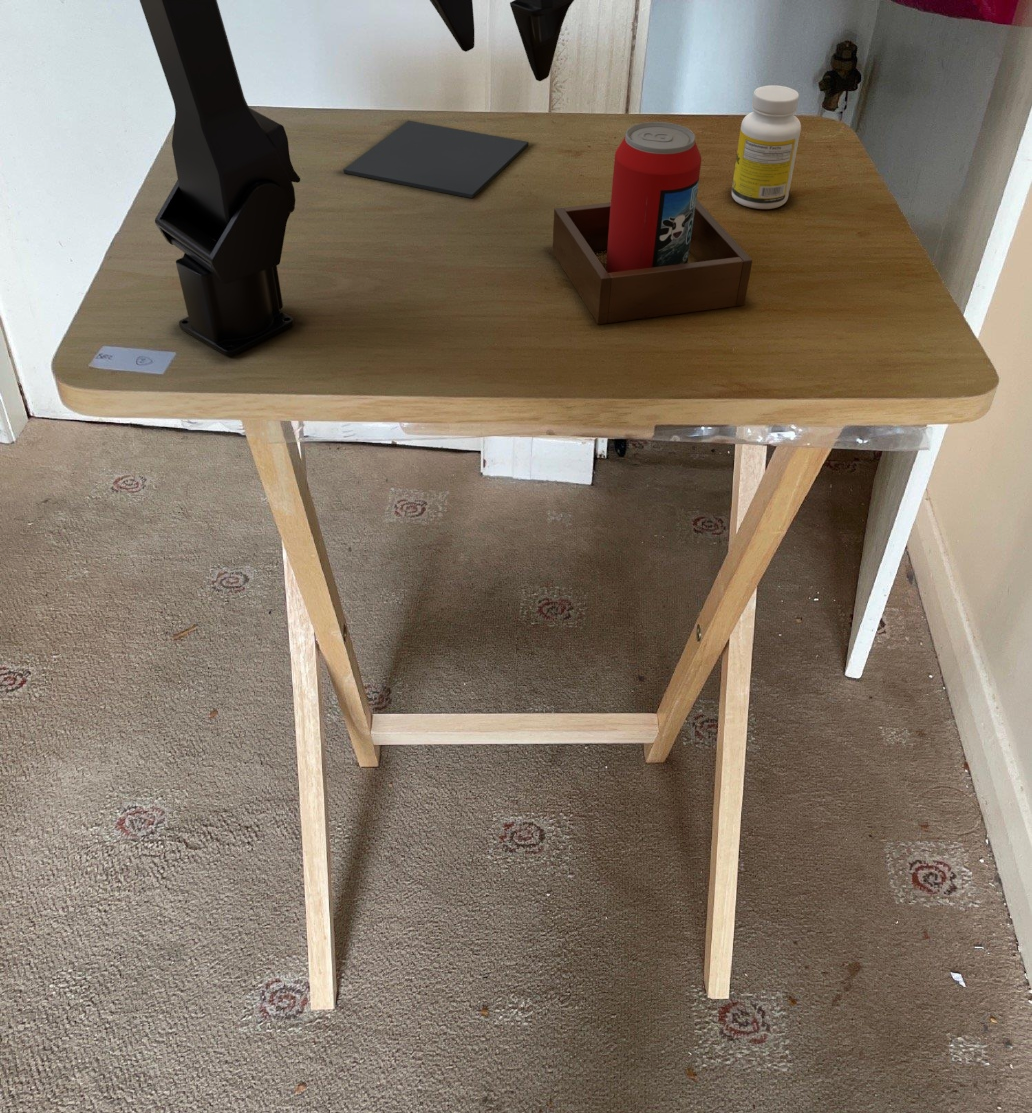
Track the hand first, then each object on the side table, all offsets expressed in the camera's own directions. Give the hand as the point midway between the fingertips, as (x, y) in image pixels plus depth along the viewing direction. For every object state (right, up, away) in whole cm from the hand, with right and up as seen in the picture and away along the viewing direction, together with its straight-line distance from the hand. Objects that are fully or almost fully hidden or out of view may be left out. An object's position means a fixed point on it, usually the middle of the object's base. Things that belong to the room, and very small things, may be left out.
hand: (504, 63), depth 85 cm
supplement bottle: (+24, -6, +14) cm, 29 cm away
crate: (+12, -17, +3) cm, 21 cm away
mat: (-7, 0, +20) cm, 21 cm away
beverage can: (+12, -17, +3) cm, 21 cm away
